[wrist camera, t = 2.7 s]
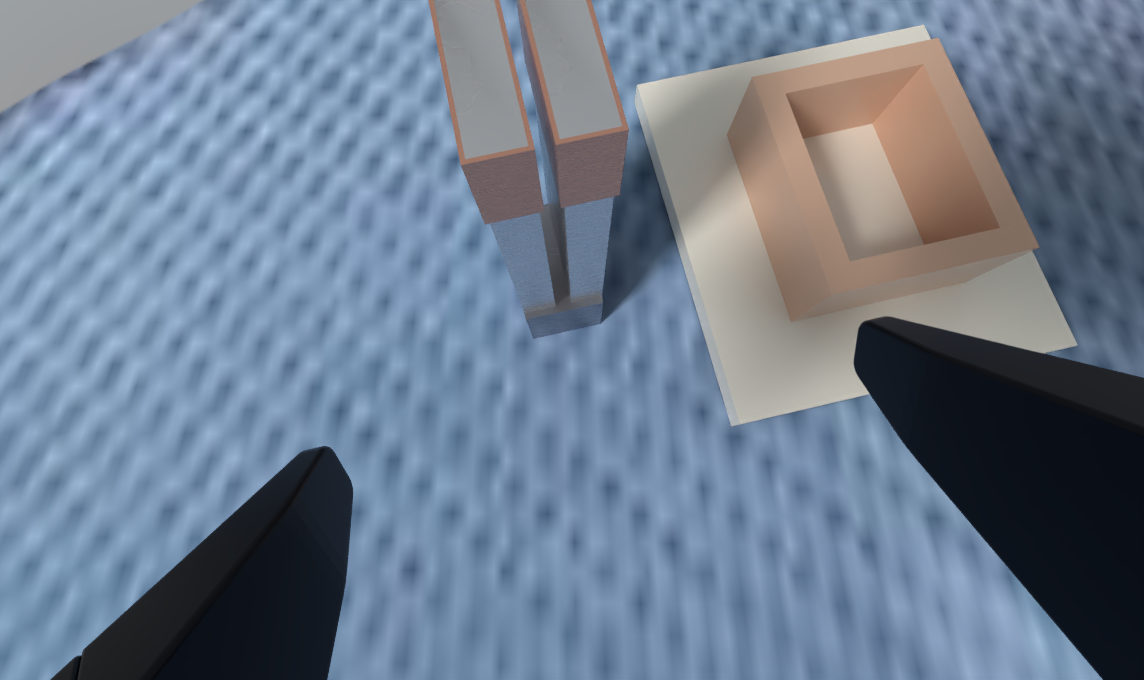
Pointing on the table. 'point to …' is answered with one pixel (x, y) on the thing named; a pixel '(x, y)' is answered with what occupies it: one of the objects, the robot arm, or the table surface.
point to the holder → (838, 215)
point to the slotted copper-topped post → (568, 145)
